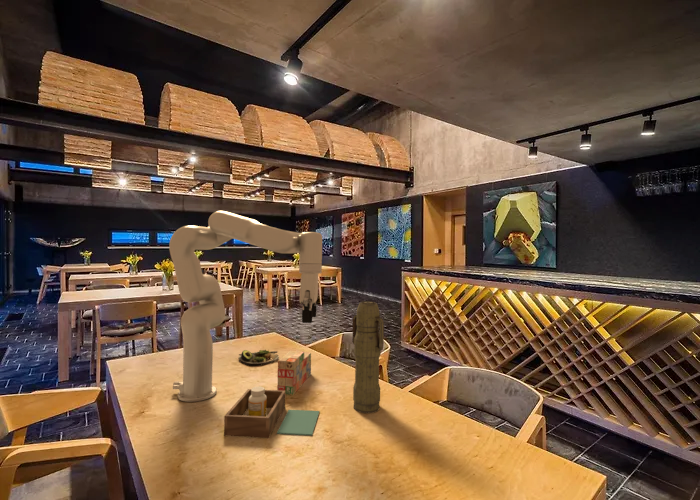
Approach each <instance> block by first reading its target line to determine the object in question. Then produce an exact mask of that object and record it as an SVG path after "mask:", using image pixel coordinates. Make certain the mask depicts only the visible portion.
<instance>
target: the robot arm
mask: <svg viewBox="0 0 700 500" xmlns="http://www.w3.org/2000/svg"><path fill="white" fill-rule="evenodd" d="M207 223H208V226H207V227H206V226H200V225H199V226H198V225H183V226H181V227H179V228H178V229H176V231H174V232H173V234H172V236H171V238H170V240H169V244H168V245H169V247H168V248H169V254H170V258H171V261H172V265H173V267H174V273H175V277H176V281H177V288H178V292H179V295H180V298H181V300H183V301H184V302H185V303H196V302H199V304H197V305H194V306H191V307H189V308H188V309H186V310H185V311H184V312H183V314H182V316H181V317H180V326H181V332H182V340H183V342H182V343H183V345H182V346H183V347H182V348H183V350H182V352H183V356H182V357H183V358H182V359H183V361H182V362H183V363H182V367H183V368H182V381H173V383H172V390H179V392H177V399H178V400H179V401H182V402H186V403H194V402H201V401H206V400H208V399H210V398H212V397H214V396H215V395H216V394H217V387H216V386H214V385H213V357H214V356H213V354H214V353H213V351H214V350H213V349H214V348H213V343H214V342H213V338H212V334H211V332H210V330H211V329H213V328H216V327H218V326H220V325H221V324H222V323H223V322H224V321H225V318H226V308H225V304H224V298H223V294H222V291H221V290H222V288H221V286H220V283H219V281H218V279H217V278H215V276H214V275H211V274H205V273H203V271H202V266H201V261H200V259H199V258H198V255H196V254H195V251H196V250H197V251H198V250H199V251H201V250H202V251H204V250H206V251H207V250H213V249H216V248H218V247H219V246H221V245H223V244H225V243H227V242H229V241H230V240H232V239H234V240H236V241H239V242H243V243H246V244H249V245H252V246H255V247H259V248H261V249H265V250H266V251H267V250H268V251H270V252H274V253H279V254H299V259H298V260H299V261H298V263H299V264H298V265H299V266H298V267H299V268H298V269H299V270H298V271H299V272H298V273H299V274H301V276H300V285H299V287H300V288H299V303H300V304H302V310H301V322H302V324H312V323H313V318H316V317H317V300H318V296H319V295H318V294H319V275H320V274H322V269H323V268H322V266H323V265H322V264H323V263H322V261H323V234H321V233H320V232H317V231H316V232H315V231H303V232H297V231H290V230H286V229H281V228H277V227H273V226H269V225H267V224H265V223H264V224H263V223H260V222H259V221H258V220H256V219H254V218H249V217H247V216H243V215H239V214H237V213H234V212H230V211H225V210H217V211H214V212H213V213H212V214H211V215H210V216H209V218H208V221H207Z"/></svg>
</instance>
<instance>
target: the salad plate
mask: <svg viewBox="0 0 700 500" xmlns="http://www.w3.org/2000/svg"><path fill="white" fill-rule="evenodd" d="M278 352H279V351H278V350H274V351H271V350H270V349H268V350H266V349H263V350H262V349H260V350H259V351H255V352H251V351H249V350H247V349H244V350H242V352H241V353H240V354H238V361H239V362H240V363H241V364H243V365H244V366H249V367H257V366H264V365H267V363H268V364H271V363H273V361H274V362H275V361H278V360H279V359H280V356H279V355H277V353H278ZM268 358H272V359H273V360H272V359H270V360H269V359H268ZM267 360H268V361H267Z"/></svg>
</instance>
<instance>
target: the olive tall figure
mask: <svg viewBox="0 0 700 500" xmlns="http://www.w3.org/2000/svg"><path fill="white" fill-rule="evenodd" d="M358 303H359V304H358V306H357V309H356V314H355V315H353V317H352V320H351V321H352V322H351V323H352V325H351V326H352V340H351V341H352V342H351V343H352V344H353V347H354V348H353V354H354V356H355V358H354V359H355V368H354V369H355V370H354V371H355V372H354V373H355V374H354V377H355V378H354V385H353V387H352V388H353V389H352V392H353V393H352V395H353V397H352V400H353V409H354V411H356V412H358V413H362V414H373V413H376V412H378V411H379V410H380V408H381V407H380V401H381V386H380V383H379V381H380V376H379V375H380V356H381V354H382V353H381V352H382V351H383V350H384V344H385V341H384V337H385V333H384V332H385V321H384V319H383V318H382V317H381V316H380V309H379V305H378V303H377V302H375V301H372V300H368V301H367V300H364V301H361V302H358Z"/></svg>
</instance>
